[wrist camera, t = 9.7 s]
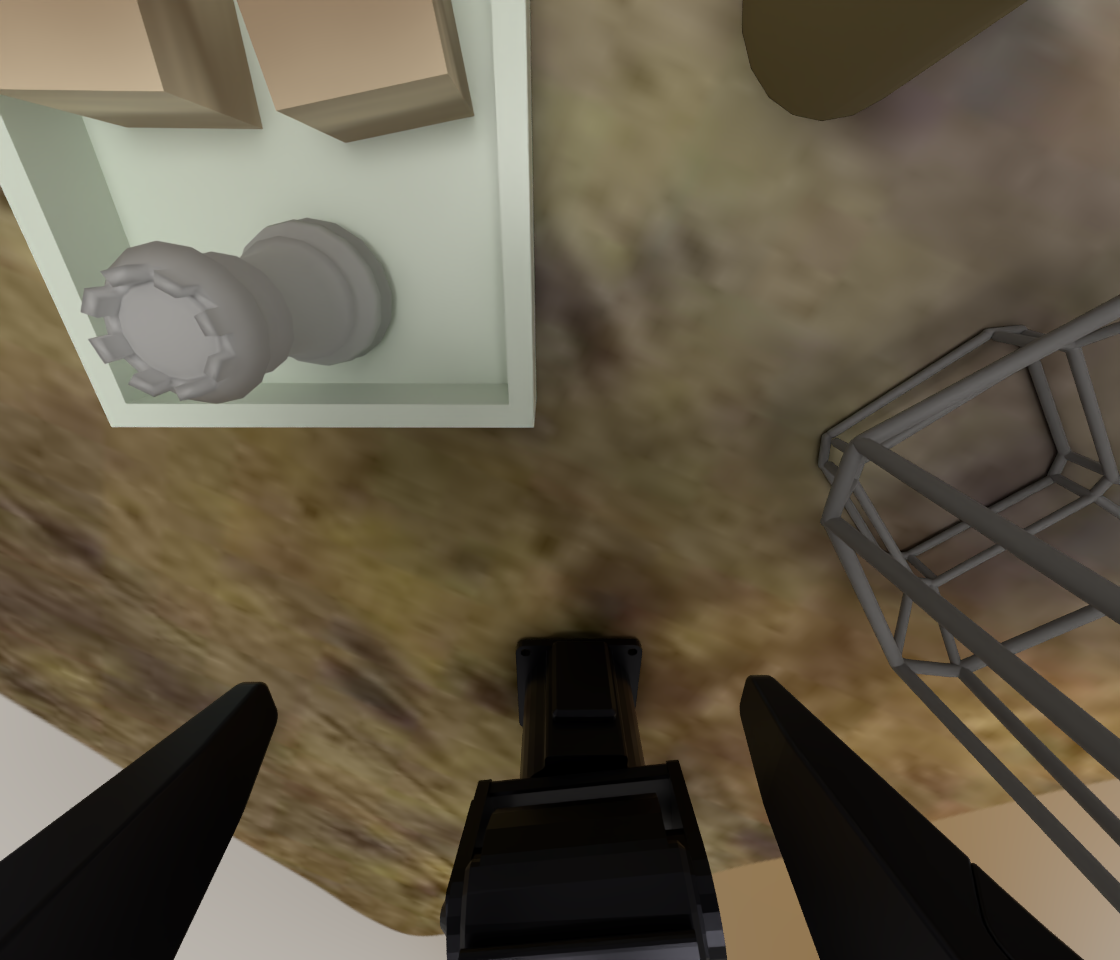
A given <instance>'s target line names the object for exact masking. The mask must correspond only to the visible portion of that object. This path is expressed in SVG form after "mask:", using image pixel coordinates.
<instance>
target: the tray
mask: <svg viewBox="0 0 1120 960" xmlns="http://www.w3.org/2000/svg"><path fill="white" fill-rule="evenodd" d="M233 1H234V5H235V9H236V14H237V18H238V22H239V27H240V31H241V35H242V40H243V44H244V48H245V53H246V57H247V62H248V66H249V70H250V75H251V79H252V83H253V88H254V92H255V96H256V101H257V105H258V109H259V114H260V118H261V122H262V127H263V129H211V128H127V127H123V126H119V125H115V124H112V123H108V122H104V121H100V120H96V119H93V118H89V117H85V116H81V115H77V114H74V113H70V112H66V111H62V110H58V109H55V108H51V107H47V106H43V105H39V104H35V103H32V102H28V101H24V100H20V99H16V98H13V97H9V96H5V95H1V94H0V185H1V187H2V189H3V192H4V194H5V196H6V198H7V200H8V202H9V205H10V207H11V209H12V211H13V213H14V216H15V218H16V220H17V222H18V224H19V226H20V229H21V231H22V233H23V235H24V237H25V240H26V242H27V244H28V246H29V248H30V250H31V253H32V255H33V257H34V259H35V261H36V263H37V266H38V268H39V270H40V272H41V274H42V277H43V279H44V281H45V283H46V285H47V287H48V290H49V292H50V294H51V296H52V298H53V301H54V303H55V305H56V307H57V309H58V311H59V314H60V316H61V318H62V320H63V322H64V325H65V327H66V329H67V331H68V333H69V335H70V338H71V340H72V342H73V344H74V346H75V348H76V351H77V353H78V355H79V357H80V359H81V362H82V364H83V366H84V368H85V370H86V372H87V375H88V377H89V379H90V381H91V383H92V386H93V388H94V390H95V392H96V394H97V396H98V399H99V401H100V403H101V405H102V407H103V410H104V412H105V414H106V416H107V418H108V420H109V423H110V425H111V427H451V428H534V421H535V411H536V401H537V393H536V331H535V269H534V208H533V146H532V84H531V22H530V0H451V2H452V7H453V12H454V17H455V22H456V27H457V32H458V37H459V42H460V47H461V52H462V57H463V62H464V66H465V71H466V76H467V81H468V86H469V91H470V96H471V101H472V106H473V111H474V116H472V117H467V118H462V119H458V120H453V121H448V122H443V123H439V124H434V125H429V126H424V127H419V128H415V129H410V130H405V131H400V132H396V133H391V134H386V135H381V136H376V137H372V138H367V139H362V140H357V141H353V142H348V143H344V142H342V141H340V140H338V139H336V138H334V137H332V136H329V135H327V134H325V133H323V132H321V131H319V130H317V129H314V128H312V127H310V126H308V125H306V124H304V123H302V122H299V121H297V120H295V119H293V118H291V117H289V116H286V115H284V114H282V113H280V112H278V111H276V109H275V106H274V104H273V101H272V98H271V95H270V92H269V90H268V87H267V84H266V81H265V79H264V76H263V73H262V70H261V67H260V65H259V62H258V59H257V56H256V53H255V51H254V48H253V45H252V42H251V39H250V37H249V34H248V31H247V28H246V25H245V23H244V20H243V17H242V14H241V12H240V9H239V6H238V3H237V0H233ZM303 218H312V219H317V220H322V221H327V222H332V223H336V224H337V225H339V226H341V227H342V228H344V229H345V230H347V231H348V232H350V233H352V234H353V235H355V236H356V237H358V238H359V239H361V240H362V241H363V242H364V243H365V245H366V246H367V247H368V248H369V250H370V251H371V252H372V253H373V255H374V256H375V257H376V258H377V260H378V261H379V262H380V264H381V265H382V267H383V270H384V273H385V276H386V279H387V281H388V284H389V287H390V290H391V293H392V304H391V322H390V324H389V326H388V328H387V330H386V332H385V335H384V337H383V339H382V341H381V342H380V343H379V344H378V345H377V346H375V347H374V348H373V349H372V350H370V351H369V352H368V353H367V354H366V355H364V356H362V357H358V358H355V359H354V360H352V361H347V362H343V363H339V364H334V365H330V366H328V365H319V364H313V363H307V362H301V361H297V360H296V359H294V358H292V357H288V358H287V359H286V360H285V361H284V362H283V363H282V364H281V365H279V366H278V367H277V368H276V369H275V370H274V371H272V372H269V373H265V375H264V378H263V380H262V382H261V383H260V384H259V385H258V386H257V387H255V388H254V389H253V390H252V391H251V392H250V393H248V394H247V395H246V396H245V397H244V398H241V399H237V400H233V401H228V402H224V403H219V404H213V403H207V402H201V401H195V400H188V399H187V400H183V401H180V400H179V398H178V395H177V394H175V393H173V392H171V391H168V392H166V393H163V394H161V395H158V396H156V397H153V396H151V395H149V394H147V393H145V392H143V391H141V390H138V389H136V388H134V387H132V386H130V385H128V383H129V381H130V380H131V378H132V376H133V374H135V373H138V371H137V370H136V369H135V368H134V367H132V366H131V365H130V364H129V363H128V362H127V361H126V360H125V359H121V360H117V361H114V362H110V363H107V364H104V362H103V361H102V359H101V358H100V357H99V355H98V354H97V352H96V351H95V349H94V348H93V346H92V345H91V343H90V342H89V340H88V339H89V338H94V337H98V336H103V335H108V333H107V329H106V325H105V321H104V317H101V318H96V317H93V316H90V315H87V314H84V313H81V312H80V311H81V305H82V299H83V293H84V288H90V287H100V286H105V281H106V278H105V277H104V276H103V275H102V273H101V272H100V271H103V270H107V269H108V268H109V267H110V266H111V265H112V264H113V263H114V262H115V260H116V259H117V258H118V257H119V256H120V255H121V254H122V253H123V252H124V251H125V250H126V249H127V248H130V247H134V246H138V245H141V244H145V243H149V242H153V241H162V242H167V243H172V244H177V245H183V246H188V247H192V248H194V249H196V250H197V251H199V252H201V253H202V254H203V253H207V252H211V251H212V252H217V253H223V254H228V255H233V256H237V257H239V258H240V256H242V253H243V250H244V247H245V246H246V245H247V244H248V243H249V242H250V241H251V240H252V239H253V238H254V237H255V236H256V235H257V234H258V233H259V232H260V231H261V230H262V229H264V228H265V227H266V226H269V225H273V224H277V223H281V222H285V221H288V220H292V219H295V220H299V219H303Z"/></svg>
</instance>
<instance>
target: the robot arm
mask: <svg viewBox="0 0 1120 960" xmlns="http://www.w3.org/2000/svg"><path fill="white" fill-rule="evenodd" d="M524 649H528V650H524ZM630 649H632V650H630ZM641 658H642V648H641V644H640V642H639V641H637V640H635V639H560V640H522V641H520V642H518V644H517V647H516V664H517V684H518V704H519V723H520V725H521V726H522V727H523V734H522V751H521V767H520V779H512V780H503V781H493V782H492V780H491V779H489V780H480V781H479V782H478V785H477V789H476V792H475V796H474V800H472V801H471V804H470V808H469V812H468V815H467V819H466V823H465V826H464V830H463V833H462V837H461V841H460V844H459V848H458V852H457V855H456V859H455V863H454V866H453V870H452V873H451V877H450V881H449V884H448V888H447V892H446V899H445V902H444V904H443V906H442V909H441V914H440V926H441V929H442V930H443V932H444V933H445V935H446V941H447V942H446V943H447V944H446V945H447V960H727V955H726V946H725V940H724V933H723V928H722V922H721V917H720V911H719V906H718V902H717V897H716V892H715V888H714V883H713V879H712V874H711V870H710V866H709V862H708V858H707V855H706V851H705V848H704V844H703V841H702V837H701V834H700V831H699V827H698V824H697V821H696V817H695V814H694V811H693V807H692V804H691V801H690V797H689V794H688V790H687V787H686V784H685V780H684V777H683V774H682V770H681V767H680V764H679V760H671V761H666V764H656V765H646V766H645V763H644V757H643V752H642V746H641V740H640V735H639V729H638V723H637V718H636V712H635V707H636V699H637V690H638V682H639V674H640V666H641ZM740 716H741V720H742V724H743V728H744V732H745V736H746V740H747V743H748V747H749V751H750V755H751V759H752V763H753V767H754V770H755V774H756V778H757V782H758V786H759V790H760V793H761V797H762V800H763V804H764V807H765V810H766V813H767V816H768V819H769V822H770V824H771V827H772V830H773V833H774V835H775V838H776V841H777V843H778V846H779V849H780V852H781V854H782V857H783V860H784V863H785V865H786V868H787V871H788V873H789V876H790V879H791V882H792V884H793V887H794V890H795V893H796V895H797V898H798V901H799V904H800V906H801V909H802V912H803V914H804V917H805V920H806V923H807V925H808V928H809V931H810V934H811V936H812V939H813V942H814V945H815V947H816V950H817V953H818V955H819V958H820V960H1084V959H1082V958H1081V957H1080V956H1079V955H1078V954H1076V953H1075V952H1074V951H1073V950H1072V949H1071V948H1069V947H1068V946H1067V945H1066V944H1065V943H1064V942H1062V941H1061V940H1060V939H1058V937H1056V936H1055V935H1054V934H1053V933H1052V932H1051V931H1049V930H1048V929H1047V928H1046V927H1045V926H1044V925H1043V924H1042V923H1040V922H1039V921H1038V920H1037V919H1036V918H1035V917H1034V916H1032V915H1031V914H1030V913H1029V912H1028V911H1027V910H1026V909H1025V908H1024V907H1023V906H1021V905H1020V904H1019V903H1018V902H1017V901H1016V900H1015V899H1014V898H1012V897H1011V896H1010V895H1009V894H1008V893H1007V892H1006V891H1005V890H1004V889H1002V888H1001V887H1000V886H999V885H998V884H997V883H996V882H995V881H994V880H993V879H992V878H990V877H989V876H988V875H987V874H986V873H985V872H984V871H983V870H982V869H981V868H980V867H978V866H977V865H976V864H975V863H971V862H970V859H969V858H968V857H967V856H966V855H965V854H964V853H963V852H962V851H961V850H960V849H959V848H958V847H957V846H956V845H954V844H953V843H952V842H951V841H950V840H949V839H948V838H947V837H946V836H945V835H944V834H943V833H941V832H940V831H939V830H938V829H937V828H936V827H935V826H934V825H933V824H932V823H931V822H929V821H928V820H927V819H926V818H925V817H924V816H923V815H922V814H921V813H920V812H919V811H918V810H916V809H915V808H914V807H913V806H912V805H911V804H910V803H909V802H908V801H907V800H906V799H905V798H903V797H902V796H901V795H900V794H899V793H898V792H897V791H896V790H895V789H894V788H893V787H892V786H890V785H889V784H888V783H887V782H886V781H885V780H884V779H883V778H882V777H881V776H880V775H878V774H877V773H876V772H875V771H874V770H873V769H872V768H871V767H870V766H869V765H868V764H867V763H865V762H864V761H863V760H862V759H861V758H860V757H859V756H858V755H857V754H856V753H855V752H854V751H852V750H851V749H850V748H849V747H848V746H847V745H846V744H845V743H844V742H843V741H842V740H841V739H839V738H838V737H837V736H836V735H835V734H834V733H833V732H832V731H831V730H830V729H829V728H827V727H826V726H825V725H824V724H823V723H822V722H821V721H820V720H819V719H818V718H817V717H816V716H814V715H813V714H812V713H811V712H810V711H809V710H808V709H807V708H806V707H805V706H804V705H803V704H801V703H800V702H799V701H798V700H797V699H796V698H795V697H794V696H793V695H792V694H791V693H790V692H788V691H787V690H786V689H785V688H784V687H783V686H782V685H781V684H780V683H779V682H778V681H776V680H775V679H774V678H773V677H771V676H769V675H750V676H748V677H747V679H746V682H745V686H744V690H743V694H742V698H741V702H740ZM277 718H278V713H277V708H276V706H275V703H274V701H273V698H272V696H271V693H270V691H269V689H268V686H267V685H266V684H265V683H264V682H242V683H240V684H238V685H236V686H234V687H233V688H232V689H230V690H229V691H228V692H226V693H225V694H224V695H222V696H221V697H220V698H218V699H217V700H216V701H214V702H213V703H212V704H210V705H209V706H208V707H206V708H205V709H204V710H202V711H201V712H200V713H198V714H197V715H196V716H194V717H193V718H192V719H190V720H189V721H188V722H186V723H185V724H184V725H182V726H181V727H180V728H178V729H177V730H176V731H174V732H173V733H171V734H170V735H169V736H167V737H166V738H165V739H163V740H162V741H161V742H159V743H158V744H157V745H155V746H154V747H153V748H151V749H150V750H149V751H147V752H146V753H145V754H143V755H142V756H141V757H139V758H138V759H137V760H135V761H134V762H133V763H131V764H130V765H129V766H127V767H126V768H125V769H123V770H122V771H121V772H119V773H118V774H117V775H116V776H114V777H113V778H111V779H110V780H109V781H107V782H106V783H105V784H103V785H102V786H101V787H99V788H98V789H97V790H95V791H94V792H93V793H91V794H90V795H89V796H87V797H86V798H84V799H83V800H82V801H81V802H79V803H78V804H77V805H75V806H74V807H72V808H71V809H70V810H69V811H67V812H66V813H65V814H63V815H62V816H60V817H59V818H58V819H56V820H55V821H54V822H52V823H51V824H50V825H48V826H47V827H46V828H44V829H43V830H42V831H40V832H39V833H38V834H36V835H35V836H34V837H32V838H31V839H30V840H28V841H27V842H26V843H24V844H23V845H22V846H20V847H19V848H18V849H16V850H15V851H14V852H12V853H11V854H9V855H8V856H7V857H5V858H4V859H3V860H2V861H0V960H174V958H175V956H176V954H177V952H178V949H179V947H180V945H181V943H182V941H183V939H184V937H185V935H186V933H187V931H188V928H189V926H190V924H191V922H192V920H193V918H194V916H195V914H196V912H197V909H198V907H199V905H200V903H201V901H202V899H203V897H204V895H205V893H206V891H207V889H208V886H209V884H210V882H211V880H212V878H213V876H214V873H215V872H216V870H217V867H218V865H219V863H220V861H221V859H222V857H223V855H224V853H225V850H226V849H227V846H228V844H229V842H230V840H231V838H232V836H233V834H234V832H235V830H236V827H237V825H238V823H239V821H240V819H241V816H242V814H243V812H244V809H245V807H246V804H247V802H248V799H249V797H250V794H251V791H252V789H253V786H254V783H255V780H256V778H257V775H258V772H259V770H260V767H261V764H262V762H263V759H264V756H265V753H266V751H267V748H268V745H269V743H270V740H271V737H272V735H273V732H274V729H275V726H276V723H277Z"/></svg>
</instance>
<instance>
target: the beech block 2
mask: <svg viewBox="0 0 1120 960" xmlns="http://www.w3.org/2000/svg"><path fill="white" fill-rule="evenodd" d="M237 3H238V6H239V9H240V12H241V14H242V17H243V20H244V23H245V25H246V28H247V31H248V34H249V37H250V39H251V42H252V45H253V48H254V51H255V53H256V56H257V59H258V62H259V65H260V67H261V70H262V73H263V76H264V79H265V81H266V84H267V87H268V90H269V92H270V95H271V98H272V101H273V104H274V106H275V109H276V111H278V112H280V113H282V114H284V115H286V116H289V117H291V118H293V119H295V120H297V121H299V122H302V123H304V124H306V125H308V126H310V127H312V128H314V129H317V130H319V131H321V132H323V133H325V134H327V135H329V136H332V137H334V138H336V139H338V140H340V141H342V142H344V143H348V142H353V141H357V140H362V139H367V138H372V137H376V136H381V135H386V134H391V133H396V132H400V131H405V130H410V129H415V128H419V127H424V126H429V125H434V124H439V123H443V122H448V121H453V120H458V119H462V118H467V117H472V116H474V111H473V106H472V101H471V96H470V91H469V86H468V81H467V76H466V71H465V66H464V62H463V57H462V52H461V47H460V42H459V37H458V32H457V27H456V22H455V17H454V12H453V7H452V2H451V0H237Z"/></svg>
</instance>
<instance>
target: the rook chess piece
mask: <svg viewBox="0 0 1120 960" xmlns="http://www.w3.org/2000/svg"><path fill="white" fill-rule="evenodd" d="M100 272H101V273H102V275H103V276H104V277H105V278H106V281H105V286H100V287H90V288H84V293H83V299H82V305H81V311H80V312H81V313H84V314H87V315H90V316H93V317H96V318H101V317H104V321H105V325H106V329H107V333H108V335H103V336H98V337H94V338H89V339H88V340H89V342H90V343H91V345H92V346H93V348H94V349H95V351H96V352H97V354H98V355H99V357H100V358H101V359H102V361H103V362H104V364H107V363H110V362H114V361H117V360H121V359H125V360H126V361H127V362H128V363H129V364H130V365H131V366H132V367H134V368H135V369H136V370H137V371H138V373H135V374H133V376H132V378H131V380H130V381H129V383H128V385H130V386H132V387H134V388H136V389H138V390H141V391H143V392H145V393H147V394H149V395H151V396H153V397H156V396H158V395H161V394H163V393H166V392H168V391H171V392H173V393H175V394H177V395H178V398H179V400H180V401H183V400H187V399H188V400H195V401H201V402H207V403H213V404H219V403H224V402H228V401H233V400H237V399H241V398H244V397H245V396H246V395H247V394H248V393H250V392H251V391H252V390H253V389H254V388H255V387H257V386H258V385H259V384H260V383H261V382H262V380H263V378H264V375H265V373H269V372H272V371H274V370H275V369H276V368H277V367H278V366H279V365H281V364H282V363H283V362H284V361H285V360H286V359H287V358H288V357H292V358H294V359H296V360H297V361H301V362H307V363H313V364H319V365H328V366H330V365H334V364H339V363H343V362H347V361H352V360H354V359H355V358H358V357H362V356H364V355H366V354H367V353H368V352H369V351H370V350H372V349H373V348H374V347H375V346H377V345H378V344H379V343H380V342H381V341H382V339H383V337H384V335H385V332H386V330H387V328H388V326H389V324H390V322H391V304H392V293H391V290H390V287H389V284H388V281H387V279H386V276H385V273H384V270H383V267H382V265H381V264H380V262H379V261H378V260H377V258H376V257H375V256H374V255H373V253H372V252H371V251H370V250H369V248H368V247H367V246H366V245H365V243H364V242H363V241H362V240H361V239H359V238H358V237H356V236H355V235H353V234H352V233H350V232H348V231H347V230H345V229H344V228H342V227H341V226H339V225H337V224H336V223H332V222H327V221H322V220H317V219H312V218H303V219H299V220H295V219H292V220H288V221H285V222H281V223H277V224H273V225H269V226H266V227H265V228H264V229H262V230H261V231H260V232H259V233H258V234H257V235H256V236H255V237H254V238H253V239H252V240H251V241H250V242H249V243H248V244H247V245H246V246H245V247H244V250H243V253H242V256H240V258H239V257H237V256H233V255H228V254H223V253H217V252H212V251H211V252H207V253H203V254H202V253H201V252H199V251H197V250H196V249H194V248H192V247H188V246H183V245H177V244H172V243H167V242H162V241H153V242H149V243H145V244H141V245H138V246H134V247H130V248H127V249H126V250H125V251H124V252H123V253H122V254H121V255H120V256H119V257H118V258H117V259H116V260H115V262H114V263H113V264H112V265H111V266H110V267H109V268H108V269H107V270H103V271H100Z"/></svg>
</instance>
